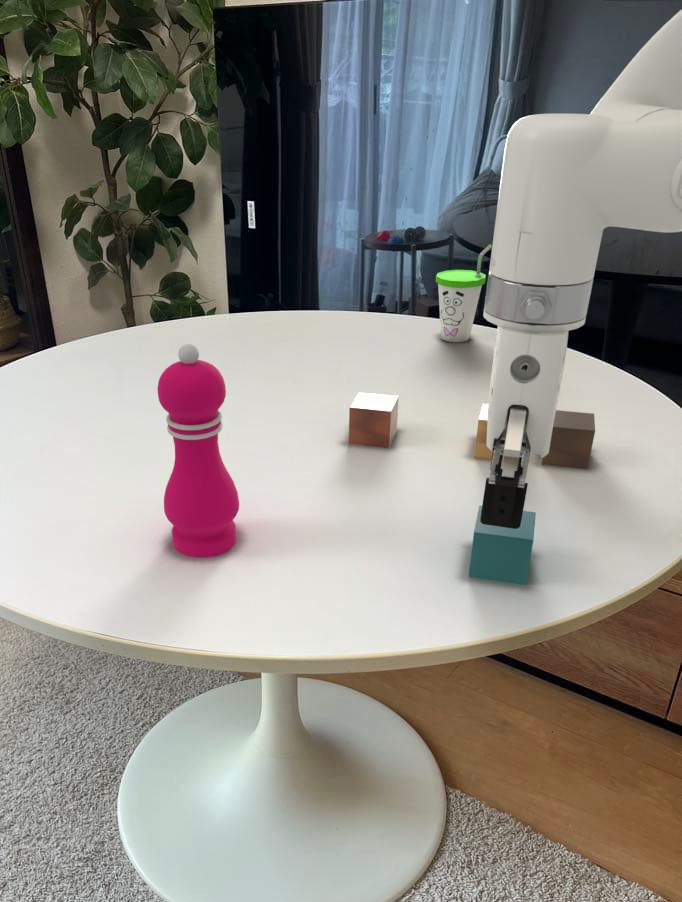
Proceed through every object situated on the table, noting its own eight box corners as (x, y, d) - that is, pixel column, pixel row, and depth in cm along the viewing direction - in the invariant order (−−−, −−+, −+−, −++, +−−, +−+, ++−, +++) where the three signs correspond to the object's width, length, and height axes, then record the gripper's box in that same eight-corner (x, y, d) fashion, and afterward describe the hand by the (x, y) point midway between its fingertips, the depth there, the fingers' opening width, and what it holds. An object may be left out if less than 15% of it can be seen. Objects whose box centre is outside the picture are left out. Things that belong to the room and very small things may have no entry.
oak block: (520, 446, 95) (526, 407, 92) (518, 464, 91) (524, 424, 88) (477, 442, 96) (482, 403, 93) (473, 459, 92) (478, 419, 89)
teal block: (528, 558, 74) (535, 512, 71) (525, 587, 70) (533, 540, 67) (473, 550, 75) (479, 505, 73) (468, 579, 71) (473, 532, 69)
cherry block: (396, 433, 99) (398, 395, 96) (389, 450, 95) (391, 411, 92) (357, 429, 100) (358, 392, 97) (348, 445, 96) (349, 407, 93)
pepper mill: (248, 526, 80) (238, 332, 70) (232, 565, 74) (218, 359, 64) (180, 521, 81) (160, 330, 71) (158, 559, 75) (133, 356, 65)
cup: (423, 342, 129) (429, 246, 121) (443, 329, 134) (450, 237, 127) (468, 350, 125) (478, 251, 117) (486, 336, 131) (497, 242, 123)
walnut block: (586, 453, 93) (594, 413, 90) (587, 471, 89) (595, 430, 86) (542, 448, 94) (548, 409, 91) (540, 466, 90) (547, 426, 87)
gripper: (590, 336, 52) (546, 556, 61) (586, 276, 66) (551, 461, 75) (474, 327, 54) (447, 541, 63) (494, 270, 68) (470, 451, 77)
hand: (503, 497), depth 69 cm, fingers open, 9 cm apart
